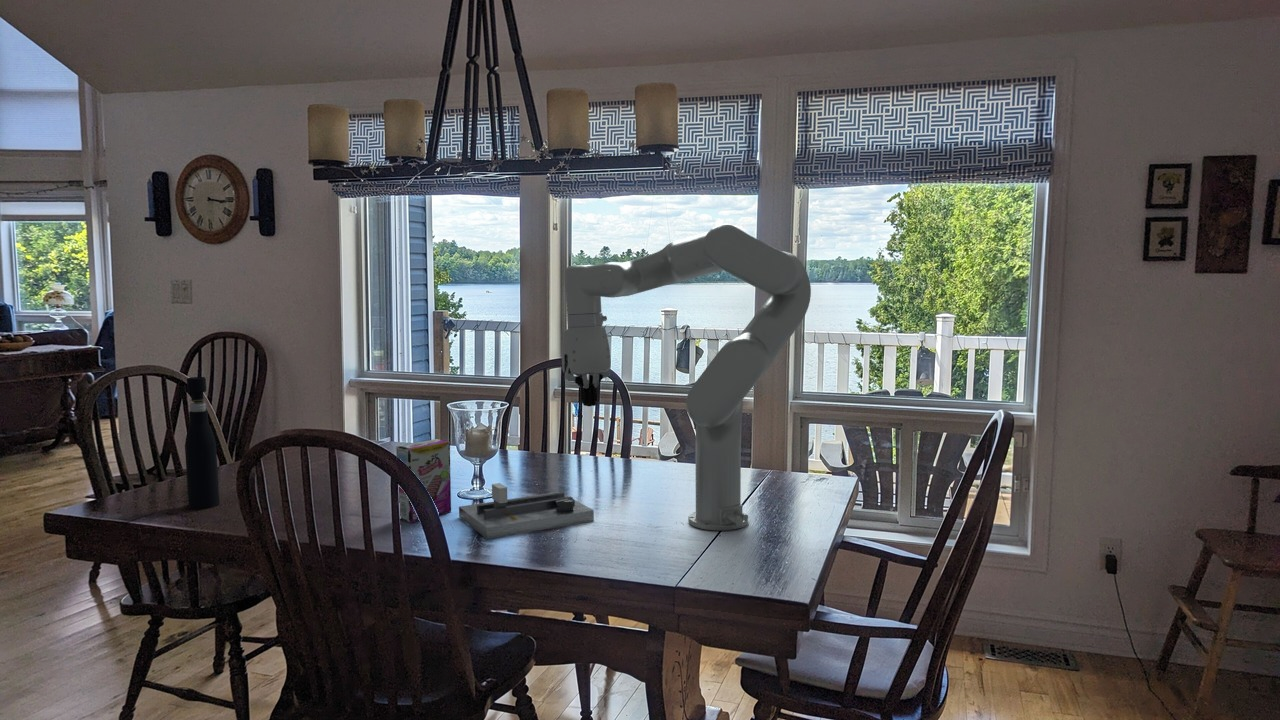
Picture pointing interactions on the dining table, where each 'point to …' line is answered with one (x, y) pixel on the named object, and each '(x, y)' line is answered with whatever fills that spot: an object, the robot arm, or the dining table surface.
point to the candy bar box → (427, 474)
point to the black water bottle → (200, 451)
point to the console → (525, 515)
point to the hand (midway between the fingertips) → (589, 405)
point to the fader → (499, 495)
